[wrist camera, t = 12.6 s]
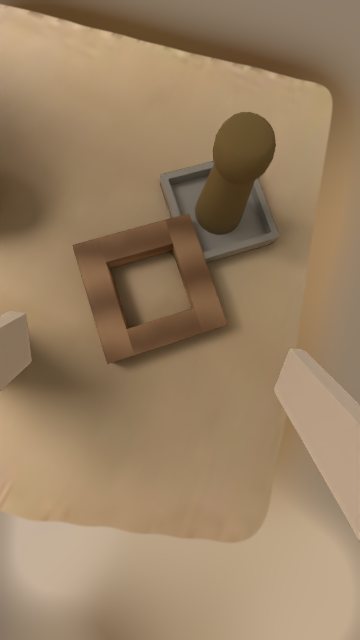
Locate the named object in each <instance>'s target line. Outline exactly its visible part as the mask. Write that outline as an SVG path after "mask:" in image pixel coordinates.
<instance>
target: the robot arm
mask: <svg viewBox="0 0 360 640" xmlns="http://www.w3.org/2000/svg"><path fill="white" fill-rule="evenodd" d="M31 362H32V358H31V350H30V342H29V333H28V325H27V317H26V313H21V312H14V311H8V312H6V313H4V314H2V315H0V391H1V390H2V389H3V388H4V387H5V386H6V385H7V384H8V383H9V382H11V381H12V380H13V379H14V378H15V377H16V376H17V375H18V374H19V373H20V372H21V371H22V370H24V369H25V368H26V367H27V366H28V365H29V364H30V363H31ZM274 392H275V394H276V396H277V398H278V399H279V401H280V403H281V405H282V406H283V408H284V410H285V412H286V413H287V415H288V417H289V419H290V420H291V422H292V424H293V426H294V427H295V429H296V431H297V432H298V434H299V436H300V438H301V439H302V441H303V443H304V445H305V446H306V448H307V450H308V452H309V454H310V455H311V457H312V459H313V461H314V462H315V464H316V466H317V467H318V469H319V471H320V473H321V475H322V476H323V478H324V480H325V482H326V483H327V485H328V487H329V489H330V490H331V492H332V494H333V496H334V497H335V499H336V501H337V502H338V504H339V506H340V508H341V510H342V511H343V513H344V515H345V517H346V518H347V520H348V522H349V524H350V525H351V527H352V529H353V531H354V532H355V534H356V536H357V538H358V539H359V541H360V405H359V404H358V403H357V402H356V401H355V400H354V399H353V398H352V397H351V396H350V395H349V394H348V393H347V392H346V391H345V390H344V389H343V388H342V387H341V386H340V385H339V384H338V383H337V382H336V381H335V380H334V379H333V378H332V377H331V376H330V375H329V374H328V373H327V372H326V371H325V370H324V369H323V368H322V367H321V366H320V365H319V364H318V363H317V362H316V361H315V360H314V359H313V358H312V357H311V356H310V355H309V354H308V353H307V352H306V351H305V350H302V349H294V348H290V349H289V352H288V354H287V357H286V359H285V362H284V365H283V367H282V370H281V373H280V375H279V378H278V380H277V383H276V386H275V388H274Z"/></svg>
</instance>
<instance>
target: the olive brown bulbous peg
mask: <svg viewBox="0 0 360 640" xmlns="http://www.w3.org/2000/svg"><path fill="white" fill-rule="evenodd" d="M275 146H276V143H275V135H274V131H273V129H272V127H271V125H270V124H269V123H268V122H267V120H266V119H264V118H263V117H261V116H259V115H258V114H254V113H251V112H241V113H238V114H235V115H233V116H232V117H230V118H229V119H228V120H227V121H225V122H224V123H223V125H222V126H221V128H220V129H219V131H218V133H217V135H216V138H215V143H214V147H213V159H214V165H213V167H212V169H211V172H210V174H209V176H208V178H207V180H206V183H205V185H204V187H203V189H202V192H201V194H200V196H199V198H198V201H197V203H196V207H195V216H196V219H197V221H198V223H199V224H200V226H201V227H202V228H203V229H204V230H206V231H208V232H209V233H213V234H217V235H221V234H227V233H229V232H232V231H233V230H234V229H235V228H237V226H238V225H239V223H240V221H241V218H242V216H243V213H244V210H245V207H246V204H247V201H248V199H249V196H250V193H251V190H252V187H253V185H254V182H255V180H256V179H257V178H259V177H260V176H261V175H262V174H263V173H264V172H265V171H266V169H267V168H268V166H269V164H270V163H271V161H272V159H273V156H274V151H275Z"/></svg>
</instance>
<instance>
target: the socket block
mask: <svg viewBox="0 0 360 640" xmlns="http://www.w3.org/2000/svg"><path fill="white" fill-rule="evenodd" d="M73 248H74V252H75V255H76V259H77V262H78V265H79V269H80V272H81V276H82V279H83V282H84V286H85V289H86V293H87V296H88V299H89V303H90V306H91V310H92V313H93V316H94V320H95V323H96V327H97V330H98V333H99V337H100V340H101V344H102V347H103V350H104V354H105V357H106V361H107V364H109V363H112V362H115V361H118V360H122V359H125V358H128V357H131V356H134V355H137V354H140V353H143V352H146V351H149V350H152V349H155V348H158V347H161V346H164V345H167V344H170V343H173V342H177V341H180V340H183V339H186V338H189V337H192V336H195V335H198V334H201V333H204V332H207V331H210V330H213V329H216V328H219V327H222V326H225V325H227V322H226V319H225V316H224V313H223V310H222V307H221V304H220V301H219V299H218V296H217V293H216V290H215V287H214V284H213V281H212V278H211V275H210V272H209V270H208V267H207V264H206V261H205V258H204V255H203V252H202V249H201V246H200V243H199V240H198V238H197V235H196V232H195V229H194V226H193V223H192V220H191V217H190V214H189V213H188V214H185V215H181V216H177V217H174V218H170V219H166V220H163V221H159V222H156V223H152V224H148V225H145V226H141V227H137V228H134V229H130V230H126V231H123V232H119V233H115V234H112V235H108V236H105V237H101V238H97V239H94V240H90V241H86V242H83V243H79V244H75V245H73ZM168 251H173V254H174V257H175V260H176V263H177V266H178V269H179V272H180V275H181V278H182V281H183V284H184V287H185V290H186V293H187V296H188V299H189V302H190V305H191V308H192V309H189V310H186V311H183V312H180V313H176V314H173V315H170V316H167V317H164V318H161V319H157V320H154V321H151V322H148V323H145V324H142V325H138V326H135V327H132V328H128V325H127V321H126V318H125V315H124V312H123V308H122V305H121V302H120V299H119V295H118V292H117V289H116V286H115V282H114V279H113V276H112V272H111V269H110V268H113V267H116V266H120V265H123V264H127V263H130V262H134V261H137V260H141V259H144V258H147V257H151V256H154V255H158V254H161V253H165V252H168Z"/></svg>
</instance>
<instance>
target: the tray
mask: <svg viewBox="0 0 360 640" xmlns="http://www.w3.org/2000/svg"><path fill="white" fill-rule="evenodd" d="M213 165H214V161H212V162H208V163H204V164H200V165H196V166H192V167H188V168H184V169H180V170H176V171H172V172H168V173H165V174H161V175H160V185H161V188H162V191H163V194H164V197H165V200H166V203H167V206H168V209H169V212H170V215H171V218H174V217H177V216H181V215H185V214H188V213H189V214H190V217H191V220H192V223H193V226H194V229H195V232H196V235H197V238H198V240H199V243H200V246H201V249H202V252H203V255H204V258H205V261H206V263H208V262H211V261H215V260H218V259H221V258H225V257H228V256H231V255H235V254H238V253H242V252H245V251H248V250H252V249H255V248H258V247H262V246H265V245H268V244H272V243H274V242H275V241H276V240H277V239H278V238H279V237H280V236H279V233H278V230H277V228H276V225H275V222H274V220H273V217H272V215H271V212H270V209H269V207H268V204H267V201H266V199H265V196H264V193H263V191H262V188H261V185H260V183H259V180H258V178H257V179H256V180H255V182H254V185H253V187H252V190H251V193H250V196H249V199H248V201H247V204H246V207H245V210H244V213H243V216H242V218H241V221H240V223H239V225H238V226H237V228H235V229H234V230H233V231H232V232H229V233H227V234H221V235H217V234H213V233H209V232H208V231H206V230H204V229H203V228H202V227H201V226H200V224H199V223H198V221H197V219H196V216H195V207H196V203H197V201H198V198H199V196H200V194H201V192H202V189H203V187H204V185H205V183H206V180H207V178H208V176H209V174H210V172H211V169H212V167H213Z"/></svg>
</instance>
